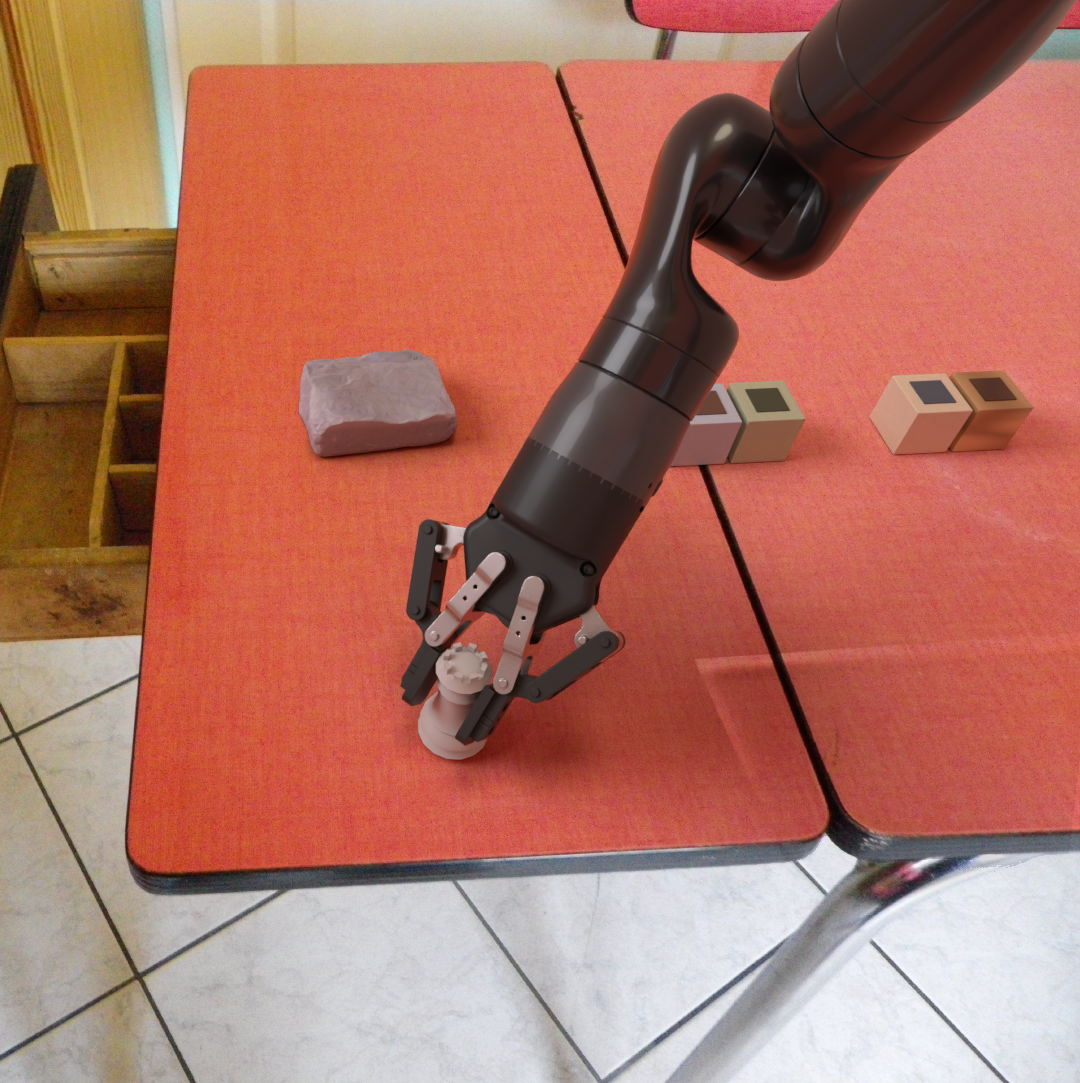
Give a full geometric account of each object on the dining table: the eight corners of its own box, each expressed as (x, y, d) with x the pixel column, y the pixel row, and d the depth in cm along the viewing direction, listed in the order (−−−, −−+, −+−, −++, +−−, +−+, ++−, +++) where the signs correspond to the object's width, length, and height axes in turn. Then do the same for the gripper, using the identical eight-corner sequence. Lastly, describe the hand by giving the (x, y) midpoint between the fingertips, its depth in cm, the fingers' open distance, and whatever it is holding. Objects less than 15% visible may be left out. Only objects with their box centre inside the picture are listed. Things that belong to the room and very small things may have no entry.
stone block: (292, 402, 84) (312, 466, 77) (291, 351, 81) (311, 411, 74) (427, 391, 86) (459, 452, 79) (431, 340, 83) (465, 398, 76)
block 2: (764, 422, 82) (784, 379, 78) (785, 460, 79) (806, 417, 75) (712, 424, 81) (729, 381, 78) (730, 463, 78) (749, 420, 75)
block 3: (919, 414, 83) (946, 371, 79) (945, 452, 80) (974, 409, 76) (868, 417, 82) (892, 374, 79) (892, 455, 80) (918, 412, 76)
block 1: (706, 425, 81) (723, 381, 78) (724, 464, 78) (743, 420, 75) (652, 427, 81) (667, 384, 77) (669, 466, 78) (685, 423, 74)
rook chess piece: (424, 768, 60) (435, 698, 54) (410, 705, 63) (419, 632, 57) (495, 758, 61) (514, 688, 55) (478, 696, 64) (494, 623, 58)
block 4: (976, 411, 83) (1005, 368, 80) (1004, 449, 80) (1035, 406, 77) (925, 414, 83) (952, 371, 79) (951, 452, 80) (980, 409, 76)
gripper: (464, 394, 55) (317, 657, 58) (695, 522, 49) (518, 807, 52) (506, 417, 61) (372, 652, 64) (713, 532, 56) (555, 783, 59)
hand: (438, 720), depth 58 cm, fingers closed on rook chess piece, 3 cm apart
